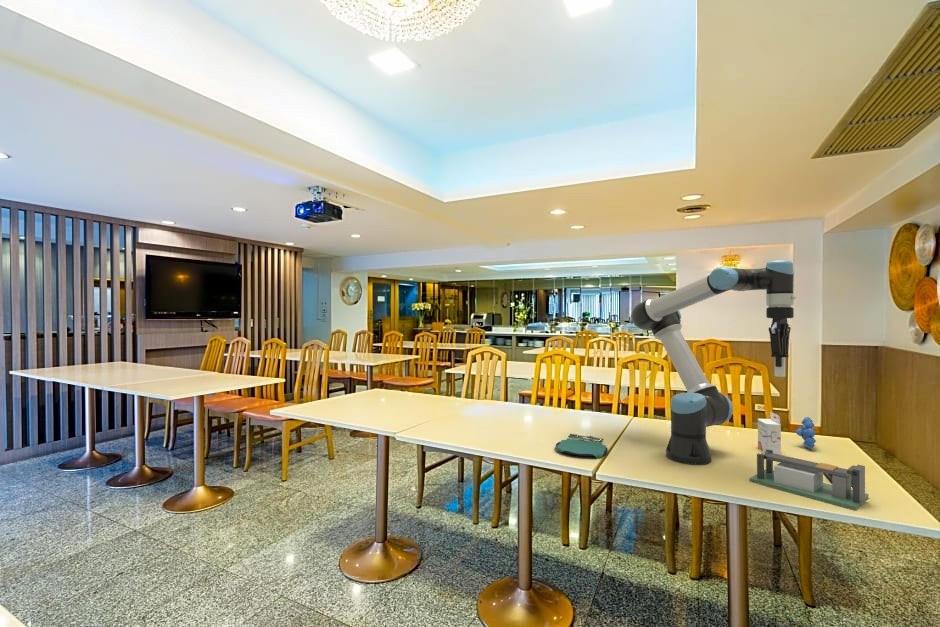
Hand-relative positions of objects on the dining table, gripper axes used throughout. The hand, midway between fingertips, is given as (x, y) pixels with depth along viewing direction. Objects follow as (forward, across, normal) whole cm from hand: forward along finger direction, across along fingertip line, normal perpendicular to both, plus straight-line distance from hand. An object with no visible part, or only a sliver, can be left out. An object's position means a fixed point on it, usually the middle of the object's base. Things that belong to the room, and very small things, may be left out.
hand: (779, 376), depth 147 cm
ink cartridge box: (+33, +23, +11) cm, 41 cm away
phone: (+33, +9, -14) cm, 37 cm away
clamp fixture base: (+32, -10, -10) cm, 35 cm away
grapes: (+33, +40, +4) cm, 52 cm away
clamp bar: (+26, -10, -9) cm, 29 cm away
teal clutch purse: (+33, -30, +58) cm, 73 cm away
